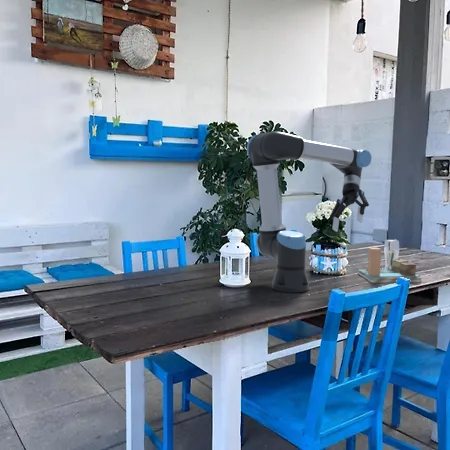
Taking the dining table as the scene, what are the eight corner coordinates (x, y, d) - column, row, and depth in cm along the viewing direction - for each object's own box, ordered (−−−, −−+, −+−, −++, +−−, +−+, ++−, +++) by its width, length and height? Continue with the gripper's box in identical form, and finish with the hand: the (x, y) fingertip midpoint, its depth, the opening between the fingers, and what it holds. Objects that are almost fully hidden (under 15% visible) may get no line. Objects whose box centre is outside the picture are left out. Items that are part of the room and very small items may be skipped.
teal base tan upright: (371, 279, 207) (372, 249, 206) (365, 275, 214) (366, 247, 212) (419, 278, 208) (421, 249, 207) (412, 275, 215) (413, 246, 214)
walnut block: (404, 275, 209) (405, 264, 208) (399, 273, 214) (400, 262, 213) (415, 275, 209) (416, 264, 209) (410, 273, 214) (410, 262, 214)
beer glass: (399, 272, 228) (400, 241, 226) (384, 271, 229) (385, 241, 228) (397, 269, 235) (398, 239, 233) (382, 268, 236) (383, 239, 235)
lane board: (372, 282, 206) (372, 277, 205) (357, 273, 225) (357, 269, 224) (421, 282, 207) (421, 277, 207) (402, 273, 226) (402, 268, 226)
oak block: (399, 272, 217) (399, 261, 217) (392, 270, 222) (392, 259, 222) (408, 271, 219) (408, 261, 218) (400, 269, 224) (401, 259, 223)
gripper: (379, 181, 207) (376, 221, 196) (336, 200, 226) (331, 237, 215) (368, 172, 204) (364, 212, 193) (325, 192, 222) (319, 230, 212)
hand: (346, 225), depth 204 cm, fingers open, 13 cm apart
